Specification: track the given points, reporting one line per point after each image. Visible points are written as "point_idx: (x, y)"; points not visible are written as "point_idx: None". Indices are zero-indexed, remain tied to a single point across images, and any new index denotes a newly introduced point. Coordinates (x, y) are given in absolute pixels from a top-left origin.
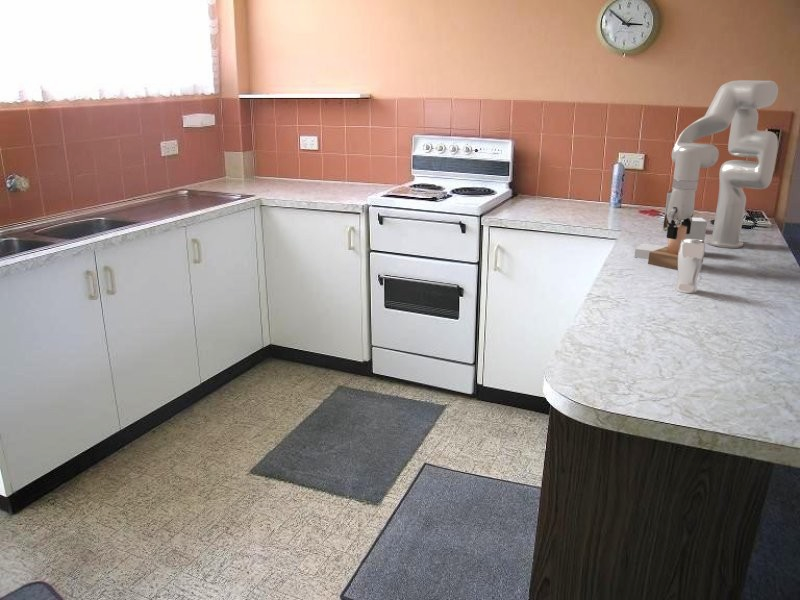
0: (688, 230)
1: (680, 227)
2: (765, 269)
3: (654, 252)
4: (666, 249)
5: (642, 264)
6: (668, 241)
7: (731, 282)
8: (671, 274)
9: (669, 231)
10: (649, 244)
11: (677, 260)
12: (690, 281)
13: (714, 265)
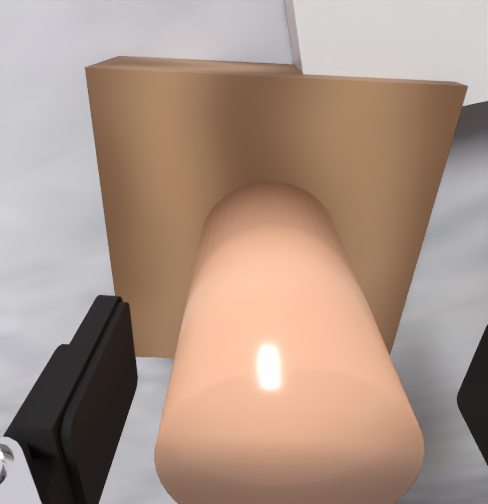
0: (477, 433)
1: (222, 500)
2: (466, 501)
3: (124, 110)
4: (341, 143)
5: (62, 27)
6: (220, 245)
7: (143, 479)
8: (16, 287)
9: (35, 396)
10: None
11: None
12: None
13: (406, 367)
